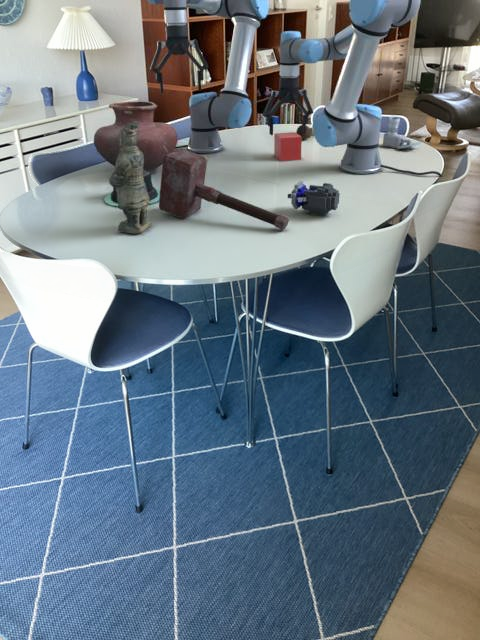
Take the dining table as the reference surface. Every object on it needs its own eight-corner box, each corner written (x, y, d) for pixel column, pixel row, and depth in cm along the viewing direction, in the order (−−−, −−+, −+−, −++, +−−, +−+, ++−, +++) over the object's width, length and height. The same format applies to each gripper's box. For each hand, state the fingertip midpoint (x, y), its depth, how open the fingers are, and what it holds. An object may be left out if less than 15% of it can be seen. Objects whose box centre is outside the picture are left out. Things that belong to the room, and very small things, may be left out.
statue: (131, 220, 168) (117, 116, 152) (158, 224, 164) (147, 118, 149) (109, 233, 159) (93, 124, 144) (138, 237, 156) (124, 126, 140)
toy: (295, 178, 172) (342, 184, 166) (295, 205, 177) (340, 211, 171) (285, 186, 166) (333, 192, 160) (284, 213, 170) (331, 220, 164)
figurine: (338, 121, 266) (314, 124, 247) (336, 138, 269) (312, 141, 250) (313, 119, 272) (288, 121, 253) (312, 135, 275) (287, 138, 256)
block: (294, 154, 233) (294, 132, 229) (300, 159, 226) (301, 136, 221) (274, 155, 232) (274, 133, 227) (280, 161, 224) (280, 138, 220)
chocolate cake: (91, 202, 180) (113, 186, 197) (142, 231, 182) (160, 212, 199) (107, 162, 172) (129, 148, 190) (160, 192, 174) (177, 176, 192)
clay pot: (187, 162, 225) (183, 96, 212) (166, 184, 199) (159, 111, 187) (116, 160, 230) (108, 96, 217) (87, 181, 204) (75, 110, 192)
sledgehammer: (299, 190, 156) (179, 147, 167) (285, 200, 148) (161, 154, 160) (286, 244, 166) (174, 200, 177) (272, 256, 158) (156, 209, 170)
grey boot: (392, 115, 240) (425, 120, 231) (389, 143, 246) (420, 148, 237) (382, 118, 234) (415, 123, 226) (379, 146, 240) (410, 152, 232)
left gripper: (210, 22, 193) (213, 88, 204) (138, 25, 189) (145, 92, 199) (214, 23, 187) (217, 91, 197) (139, 26, 182) (146, 95, 193)
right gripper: (316, 73, 218) (313, 129, 230) (255, 76, 214) (255, 133, 225) (323, 76, 212) (319, 133, 223) (260, 79, 208) (259, 137, 219)
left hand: (181, 91), depth 198 cm, fingers open, 13 cm apart
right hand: (287, 133), depth 224 cm, fingers open, 13 cm apart
